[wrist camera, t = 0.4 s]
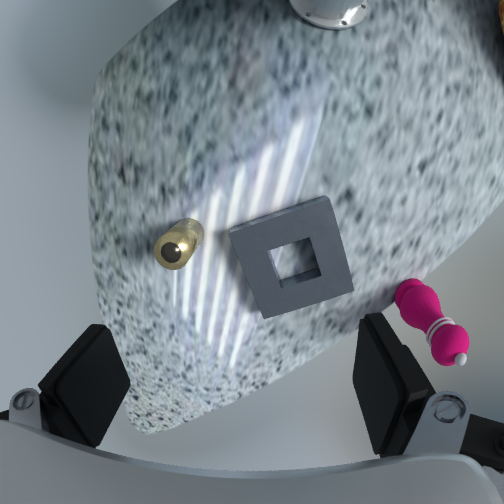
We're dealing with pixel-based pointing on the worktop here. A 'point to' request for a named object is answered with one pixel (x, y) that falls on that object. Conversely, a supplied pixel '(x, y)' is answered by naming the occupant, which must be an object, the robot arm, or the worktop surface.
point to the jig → (285, 232)
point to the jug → (501, 14)
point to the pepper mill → (432, 322)
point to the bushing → (179, 244)
